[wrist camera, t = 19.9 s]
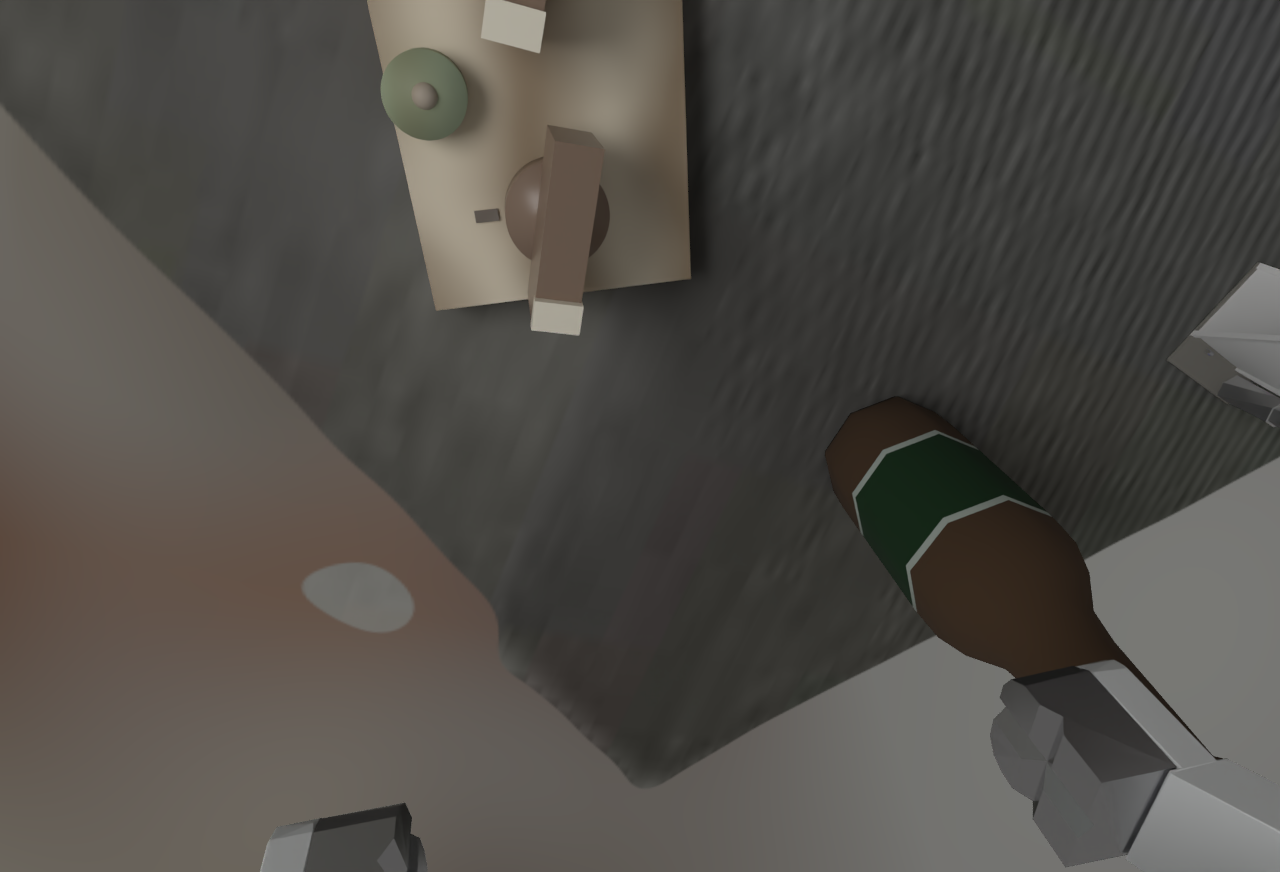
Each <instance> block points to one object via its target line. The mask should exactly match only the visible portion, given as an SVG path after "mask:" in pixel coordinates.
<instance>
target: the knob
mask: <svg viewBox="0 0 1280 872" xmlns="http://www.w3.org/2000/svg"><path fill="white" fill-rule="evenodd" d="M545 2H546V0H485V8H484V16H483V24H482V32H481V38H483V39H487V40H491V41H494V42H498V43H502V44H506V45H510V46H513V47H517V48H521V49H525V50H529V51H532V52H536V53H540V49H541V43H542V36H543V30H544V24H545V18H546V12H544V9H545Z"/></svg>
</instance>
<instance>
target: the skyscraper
mask: <svg viewBox="0 0 1280 872" xmlns="http://www.w3.org/2000/svg"><path fill="white" fill-rule="evenodd" d="M1166 360H1167V361H1169V362H1170V363H1171V364H1173V365H1174V366H1175V367H1177V368H1178V369H1179V370H1181V371H1182V372H1184V373H1185V374H1186V375H1188V376H1189V377H1190V378H1192V379H1193V380H1194V381H1196V382H1197V383H1198V384H1200V385H1201V386H1203V387H1204V388H1205V389H1207V390H1208V391H1209V392H1211V393H1212V394H1213V395H1215V396H1216V397H1217V398H1219V399H1220V400H1222V401H1223V402H1224V403H1226V404H1227V405H1228V404H1229V403H1230V404H1232V405H1234V406H1236V407H1238V408H1240V409H1242V410H1244V411H1246V412H1248V413H1250V414H1252V415H1254V416H1256V417H1258V418H1259V419H1261V420H1263V421H1265V422H1267V423H1268V424H1270V425H1271V426H1272V427H1275V426H1277V427H1279V428H1280V398H1279V397H1277V396H1275V395H1273V394H1271V393H1269V392H1267V391H1266V390H1264V389H1262V388H1260V387H1258V386H1256V385H1254V384H1252V383H1251V381H1254V382H1255V383H1257V384H1259V385H1261V386H1262V387H1264V388H1266V389H1268V390H1269V391H1271V392H1273V393H1274V394H1276V395H1278V396H1280V269H1277V268H1274V267H1271V266H1268V265H1265V264H1262V263H1259V262H1257V264H1256V265H1255V266H1254V267H1253V268H1252V269H1251V270H1250V271H1249V272H1248V273H1247V274H1246V275H1245V276H1244V277H1243V278H1242V280H1241V281H1240V282H1239V283H1238V284H1237V285H1236V286H1235V287H1234V288H1233V289H1232V290H1231V291H1230V292H1229V293H1228V294H1227V296H1226V297H1225V298H1224V299H1223V300H1222V301H1221V302H1220V303H1219V304H1218V305H1217V306H1216V307H1215V308H1214V309H1213V310H1212V312H1211V313H1210V314H1209V315H1208V316H1207V317H1206V318H1205V319H1204V320H1203V321H1202V322H1201V323H1200V324H1199V325H1198V326H1197V328H1196V329H1195V330H1194V331H1193V332H1192V333H1191V334H1190V335H1189V336H1188V337H1187V338H1186V339H1185V340H1184V341H1183V342H1182V344H1181V345H1180V346H1179V347H1178V348H1177V349H1176V350H1175V351H1174V352H1173V353H1172V354H1171V355H1170V356H1169V357H1168V358H1167V359H1166Z"/></svg>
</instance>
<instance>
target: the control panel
mask: <svg viewBox="0 0 1280 872" xmlns="http://www.w3.org/2000/svg"><path fill="white" fill-rule="evenodd" d="M367 3H368V7H369V12H370V16H371V21H372V25H373V30H374V34H375V39H376V43H377V48H378V52H379V57H380V61H381V66H382V70H383V77H382V81H381V97H382V102H383V105H384V108H385V110H386V112H387V114H388V116H389V117H390V119H391V120H392V122H393V123H394V124H395V128H396V133H397V137H398V142H399V146H400V151H401V155H402V160H403V164H404V169H405V173H406V178H407V182H408V187H409V191H410V196H411V200H412V205H413V209H414V213H415V218H416V222H417V227H418V231H419V236H420V240H421V245H422V249H423V254H424V258H425V263H426V267H427V272H428V276H429V281H430V285H431V290H432V294H433V299H434V303H435V308H436V311H437V310H445V309H453V308H461V307H469V306H477V305H485V304H493V303H501V302H509V301H517V300H525V299H528V284H529V276H530V267H531V260H530V259H529V258H527V257H526V256H525V255H523V254H522V253H521V252H520V251H519V249H518V248H517V247H516V246H515V244H514V243H513V241H512V239H511V237H510V235H509V232H508V229H507V225H506V218H505V197H506V192H507V189H508V186H509V184H510V182H511V180H512V179H513V177H514V175H515V174H516V173H517V172H518V171H519V170H520V169H521V168H522V167H523V166H524V165H526V164H527V163H529V162H531V161H533V160H535V159H537V158H540V157H543V156H544V147H545V139H546V130H547V125H552V126H558V127H564V128H569V129H575V130H581V131H586V132H592V134H593V135H594V136H595V137H596V139H597V140H598V141H599V142H600V144H601V145H602V146H603V147H604V149H605V153H604V159H603V166H602V172H601V179H600V185H601V187H602V189H603V190H604V192H605V195H606V197H607V200H608V203H609V209H610V222H609V228H608V232H607V234H606V237H605V239H604V241H603V243H602V244H601V246H600V247H599V249H598V250H597V251H596V252H595V253H594V254H593V255H592V256H590V257H589V258H588V263H587V270H586V276H585V283H584V289H583V292H589V291H597V290H605V289H613V288H621V287H629V286H637V285H645V284H653V283H661V282H669V281H677V280H685V279H691V269H690V237H689V205H688V172H687V140H686V108H685V75H684V43H683V11H682V0H546V2H545V9H544V12H546V18H545V24H544V30H543V36H542V43H541V49H540V53H536V52H532V51H529V50H525V49H521V48H517V47H513V46H510V45H506V44H502V43H498V42H494V41H491V40H487V39H483V38H481V32H482V24H483V16H484V8H485V0H367Z"/></svg>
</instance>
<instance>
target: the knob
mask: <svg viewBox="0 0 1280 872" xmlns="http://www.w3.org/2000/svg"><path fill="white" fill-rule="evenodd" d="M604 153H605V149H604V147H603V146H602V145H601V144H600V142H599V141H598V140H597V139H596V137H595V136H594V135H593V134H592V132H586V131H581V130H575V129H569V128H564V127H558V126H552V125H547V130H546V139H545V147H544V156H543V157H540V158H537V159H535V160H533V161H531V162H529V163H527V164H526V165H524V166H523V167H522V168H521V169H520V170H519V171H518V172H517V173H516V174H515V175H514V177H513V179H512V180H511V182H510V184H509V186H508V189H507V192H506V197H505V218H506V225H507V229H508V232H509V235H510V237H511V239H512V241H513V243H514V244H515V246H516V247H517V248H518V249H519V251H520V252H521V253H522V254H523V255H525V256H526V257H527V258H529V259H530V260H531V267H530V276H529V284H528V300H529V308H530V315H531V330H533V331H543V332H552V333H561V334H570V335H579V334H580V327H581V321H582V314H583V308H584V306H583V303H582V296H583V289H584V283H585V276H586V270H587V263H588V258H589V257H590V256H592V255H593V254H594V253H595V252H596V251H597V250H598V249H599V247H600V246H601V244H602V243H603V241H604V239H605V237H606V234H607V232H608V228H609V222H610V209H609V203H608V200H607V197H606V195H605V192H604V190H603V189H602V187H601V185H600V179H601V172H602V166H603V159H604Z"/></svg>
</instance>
